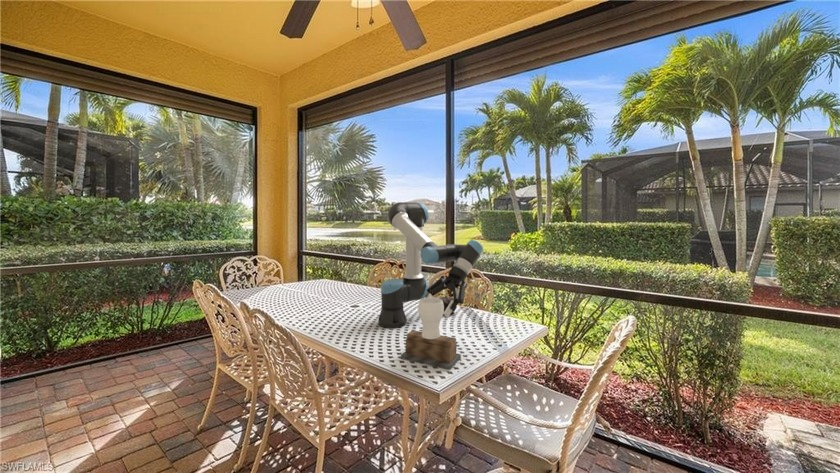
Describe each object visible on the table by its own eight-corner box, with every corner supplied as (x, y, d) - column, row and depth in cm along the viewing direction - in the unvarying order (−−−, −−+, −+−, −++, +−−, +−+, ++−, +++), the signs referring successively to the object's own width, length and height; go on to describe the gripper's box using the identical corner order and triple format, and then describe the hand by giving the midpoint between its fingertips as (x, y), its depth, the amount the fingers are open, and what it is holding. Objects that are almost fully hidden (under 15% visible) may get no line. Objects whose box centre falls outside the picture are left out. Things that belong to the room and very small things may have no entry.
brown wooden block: (400, 358, 145) (400, 336, 144) (414, 347, 156) (414, 327, 155) (450, 369, 135) (450, 346, 134) (460, 357, 146) (461, 335, 145)
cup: (441, 341, 139) (442, 304, 137) (415, 339, 141) (415, 303, 139) (445, 332, 149) (445, 297, 148) (420, 330, 151) (420, 296, 150)
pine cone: (426, 310, 210) (426, 294, 209) (455, 311, 210) (455, 294, 209) (426, 316, 200) (426, 299, 199) (457, 316, 199) (457, 299, 198)
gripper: (486, 281, 144) (460, 324, 136) (444, 271, 163) (419, 309, 155) (478, 270, 140) (451, 314, 132) (436, 261, 159) (410, 299, 151)
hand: (434, 311), depth 144 cm, fingers open, 13 cm apart
